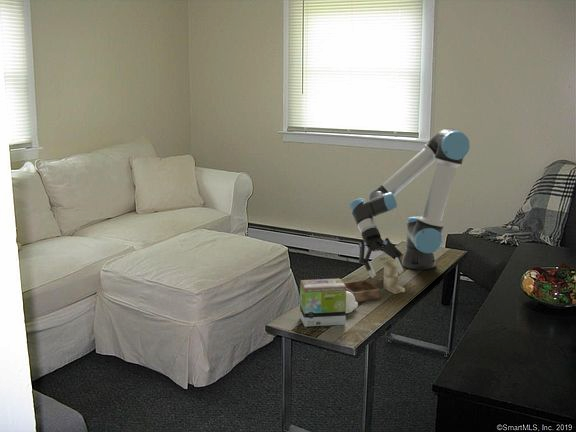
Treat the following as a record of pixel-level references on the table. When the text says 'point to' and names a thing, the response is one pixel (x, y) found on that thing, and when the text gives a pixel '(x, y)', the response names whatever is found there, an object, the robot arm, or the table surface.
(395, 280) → the beige block
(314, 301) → the tea box
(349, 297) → the rabbit
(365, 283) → the open brown box
